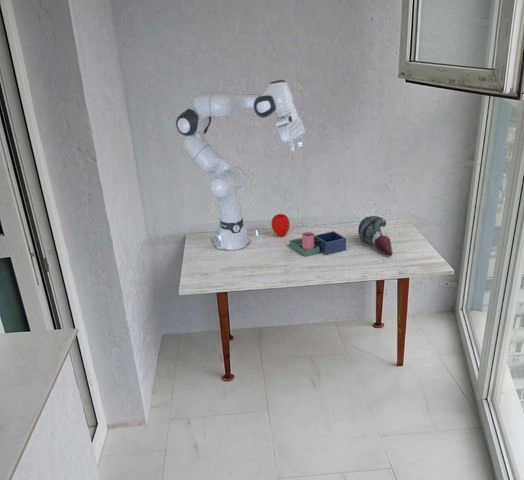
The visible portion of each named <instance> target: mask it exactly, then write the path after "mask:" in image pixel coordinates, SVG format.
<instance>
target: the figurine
mask: <svg viewBox="0 0 524 480" xmlns="http://www.w3.org/2000/svg"><path fill="white" fill-rule="evenodd" d="M386 226H387V220H386V219H385V218H384V217H381V216H378V215H371V216H365V217H364V218H363V219H362V220H361V221H360V222H359V223H358V229H357V233H358V237H359V240H360V241H361V242H362V243H363V244H373V245H374V247H376V249H378V251H380V252H381V253H383V254H385V255H386V256H389V257H391V256H392V255H393V254H394V251H393V249H392V243H391V240H390V238H389V237H390V236H389V231H388V230H387V229H386Z"/></svg>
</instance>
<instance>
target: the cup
mask: <svg viewBox="0 0 524 480" xmlns="http://www.w3.org/2000/svg"><path fill="white" fill-rule="evenodd" d="M314 235H315V233H314V232H311V231H305V232H302V233H301V238H302V248H303V249H304V250H309V249H313V248H314Z"/></svg>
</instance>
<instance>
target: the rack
mask: <svg viewBox="0 0 524 480" xmlns="http://www.w3.org/2000/svg"><path fill="white" fill-rule="evenodd" d="M289 247H291V248H292V249H294V250H295V251H296V252H298V253H299V254H301V255H302V256H304V257H308V256H312V255H317V254H320V253H321V251H320V247H318V246H316V245H315V244H314V248H313V249H309V250H304V249H303V248H302V237H300V238H299V237H298V238H295V239H290V240H289Z"/></svg>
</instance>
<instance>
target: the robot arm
mask: <svg viewBox="0 0 524 480" xmlns="http://www.w3.org/2000/svg"><path fill="white" fill-rule="evenodd" d="M245 110H253V111H254V113H255V114H256V115H257V117H259V118H262V119H263V118H269V117H271V116H274V115H276V116H277V118H276V120H275V126H276V128H277V131H278V134H279V137H280V139H281V142H282V143H283V144H287V145H288V147H289V148H290V151H291V152H295V151H296V150H297V147H296V145H295V144H294V140H295V139H297V141H298V143H297V144H298V146H299V147H303V146H304V136H303V135H304V134H305V133H306V129H305V126H304V123H303V121H302V119H301V117H300V116H299V113H298V110H297V107H296V105H295V103H294V98H293V94H292V91H291V89H290V85H289V84H288V82H287V81H286V80H285V79H277V80H274V81H270V82H269V83H268V85H267V86H266V89H265V90H264V91H263V92H262V93H261V94H242V93H234V92H227V91H219V90H208V91H202V92H198V93H196V94H195V95H194V97H193V100H192V107H191V108H187V109H186V110H185V111H183V112H182V113H180V114H179V115H178V116H177V118H176V120H175V127H176V129H177V131H178V133H179V134H180V135H182V136H184V138H183V140H182V144H183V147H184V149H185V150H186V152H187V153H188V155H189V156H190V157H191V158H192V160H193V161H194V162H195V163H196V164H197V165H198V167H200V169H201V170H202V171H203V172H204V173H206V174H207V175H208V174H209V175H211V176H212V177H214V178H213V179H212V181H211V182H210V191H211V193H212V195H213V196H215V197H216V200H217V202H218V206H219V213H220V221H219V226H218V228H216V230H215V232H214V237H213V236H212V242H213V243H214V246H215V248H216V249H217V250H227V251H236V250H240V249H243V248H245V247H247V245H248V244H249V243H250V242H251V240H250V239H248V235H247V228H246V227H245V226H244V219H243V212H242V211H243V209H242V203H241V202H240V201H239V200H238V198H237V191H238V190H240V189H241V188H242V187H243V186H244V184H245V183H246V180H247V175H246V172H245V171H244V170H243V169H242V168H241V167H238V166H235V165H234V164H232V163H230V162H229V161H228V160H226V159H225V158H224V157H222V156H221V155H220V154H219V153H218V152H217V150H216V149H214V147H213V146H212V145H211V144H210V142H209V141H208V140H207V139H206V138H205V136H204V135H206V134H207V133H208V130H209V127H210V126H211V123H212V118H213V117H215V118H219V117H220V118H221V117H227V116H230V115H233V114H235V113H238V112H241V111H245ZM255 233H256V236H257V237H258V236H259V234H258V230H257V229H256V230H255Z"/></svg>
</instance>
